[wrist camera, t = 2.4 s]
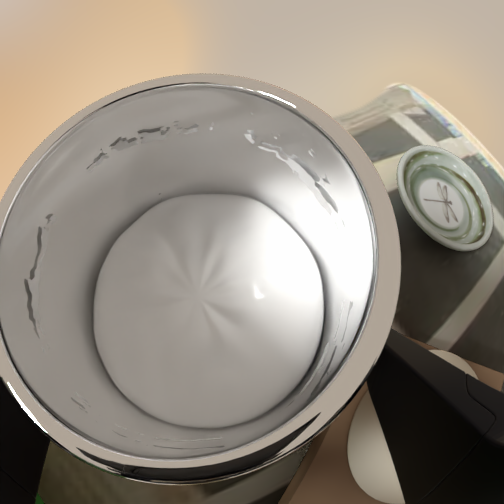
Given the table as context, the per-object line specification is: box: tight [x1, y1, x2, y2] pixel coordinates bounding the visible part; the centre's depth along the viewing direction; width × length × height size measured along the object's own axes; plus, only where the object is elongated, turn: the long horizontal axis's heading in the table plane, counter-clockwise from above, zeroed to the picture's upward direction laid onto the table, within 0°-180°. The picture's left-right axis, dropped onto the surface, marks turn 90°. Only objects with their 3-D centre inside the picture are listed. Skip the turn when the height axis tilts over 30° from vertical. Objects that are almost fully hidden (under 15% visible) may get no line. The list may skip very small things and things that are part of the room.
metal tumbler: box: [0, 74, 401, 485], centre depth 11 cm, size 7×7×15 cm
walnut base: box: [278, 335, 504, 504], centre depth 13 cm, size 18×12×2 cm, turn 156°
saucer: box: [397, 145, 493, 251], centre depth 20 cm, size 10×10×2 cm
